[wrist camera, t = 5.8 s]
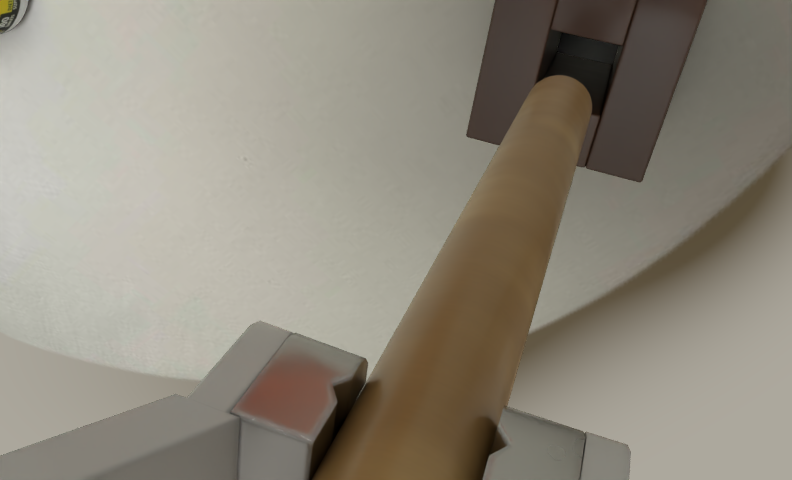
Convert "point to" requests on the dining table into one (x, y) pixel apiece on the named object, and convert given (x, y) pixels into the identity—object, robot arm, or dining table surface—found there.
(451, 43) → the dining table surface
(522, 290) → the stirring stick
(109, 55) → the dining table surface
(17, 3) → the pill bottle
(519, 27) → the stick holder
